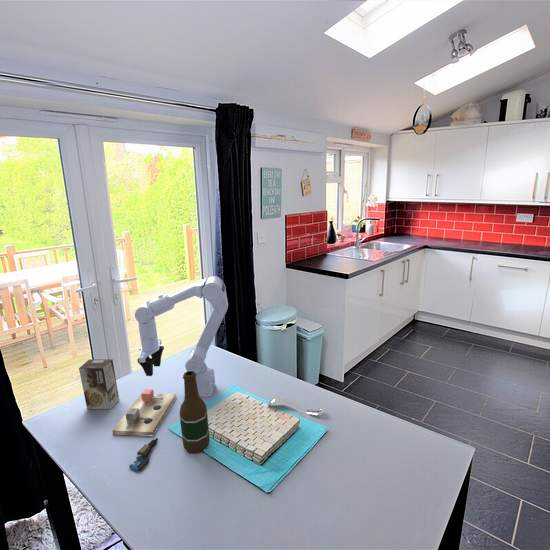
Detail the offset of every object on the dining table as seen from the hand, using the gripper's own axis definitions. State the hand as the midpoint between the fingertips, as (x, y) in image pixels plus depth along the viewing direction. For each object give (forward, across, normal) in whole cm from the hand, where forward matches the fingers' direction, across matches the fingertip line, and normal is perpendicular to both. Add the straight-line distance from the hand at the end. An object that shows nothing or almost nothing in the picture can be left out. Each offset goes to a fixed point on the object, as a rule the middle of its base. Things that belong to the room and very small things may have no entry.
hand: (153, 370), depth 132 cm
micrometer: (+10, +30, +10) cm, 33 cm away
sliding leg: (+7, +6, +2) cm, 10 cm away
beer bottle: (+10, +26, +24) cm, 36 cm away
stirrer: (+10, +7, +52) cm, 53 cm away
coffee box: (+10, +8, -16) cm, 21 cm away
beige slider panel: (+9, +12, +2) cm, 16 cm away
